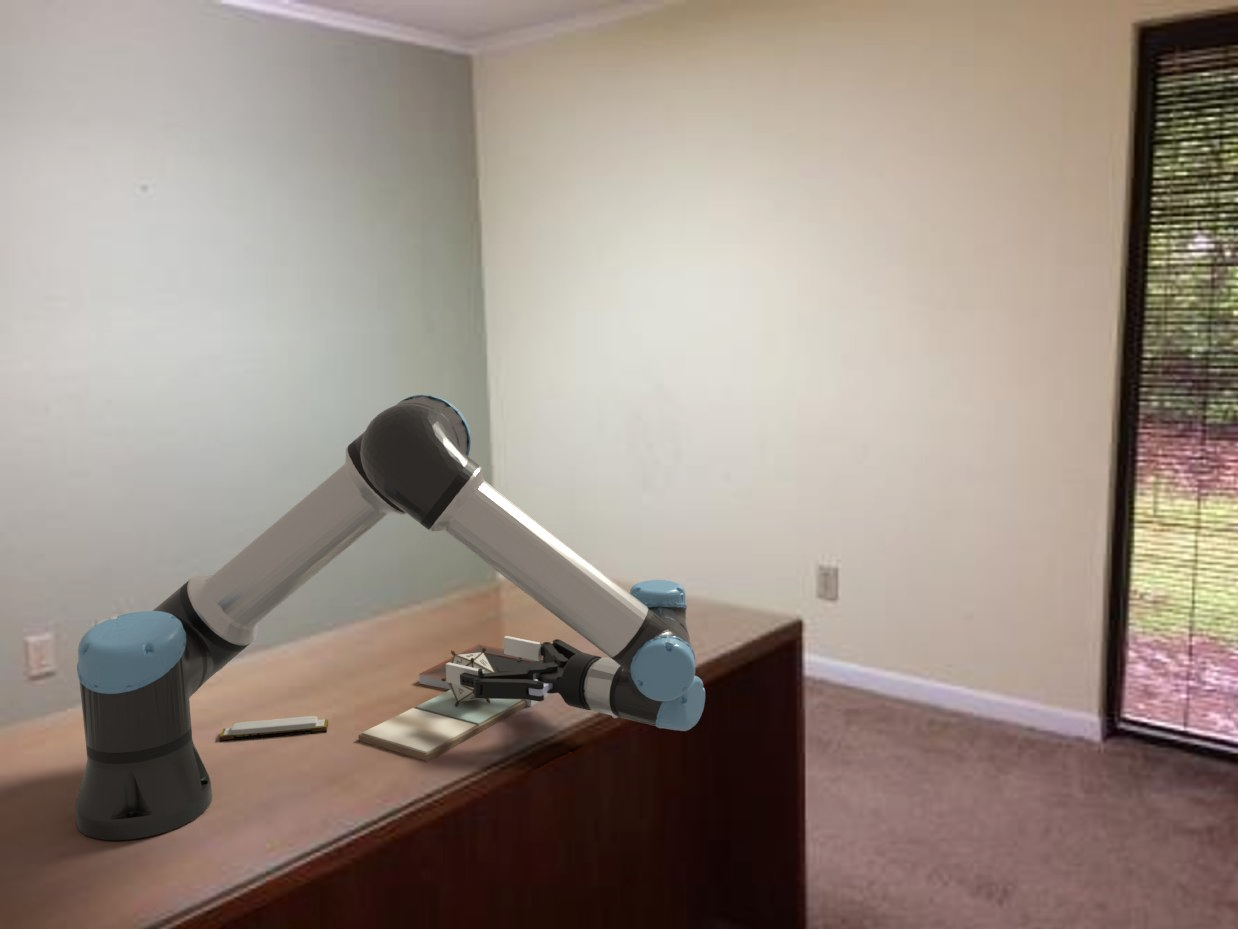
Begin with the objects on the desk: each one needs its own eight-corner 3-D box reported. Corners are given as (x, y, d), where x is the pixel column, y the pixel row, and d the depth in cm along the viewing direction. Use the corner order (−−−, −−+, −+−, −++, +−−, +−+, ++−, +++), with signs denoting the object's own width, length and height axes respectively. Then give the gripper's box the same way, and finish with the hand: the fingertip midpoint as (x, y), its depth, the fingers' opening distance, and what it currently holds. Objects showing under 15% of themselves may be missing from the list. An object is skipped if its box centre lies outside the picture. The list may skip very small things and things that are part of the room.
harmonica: (220, 745, 146) (219, 731, 146) (223, 736, 149) (222, 723, 149) (326, 735, 149) (326, 722, 149) (328, 727, 152) (327, 714, 152)
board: (427, 761, 140) (427, 753, 139) (358, 740, 146) (358, 732, 146) (525, 706, 158) (525, 699, 158) (460, 690, 165) (460, 683, 165)
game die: (479, 729, 156) (483, 693, 149) (429, 705, 158) (431, 668, 151) (506, 684, 162) (512, 647, 155) (458, 661, 164) (462, 624, 157)
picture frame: (585, 676, 172) (479, 656, 183) (584, 662, 172) (478, 643, 182) (531, 711, 158) (419, 687, 168) (530, 695, 158) (418, 672, 168)
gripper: (545, 742, 134) (422, 710, 145) (642, 681, 155) (527, 657, 166) (544, 687, 133) (419, 658, 144) (641, 633, 154) (526, 612, 165)
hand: (477, 658), depth 155 cm, fingers open, 13 cm apart
